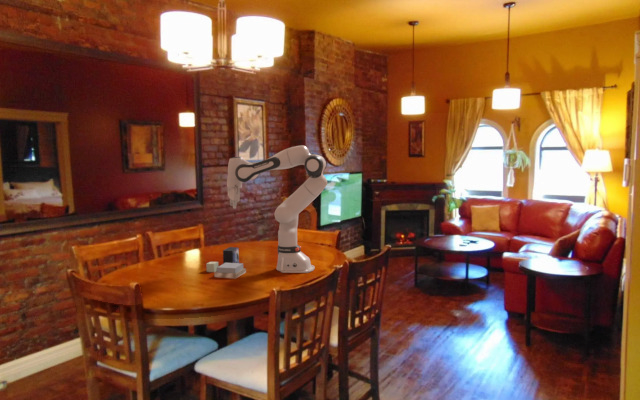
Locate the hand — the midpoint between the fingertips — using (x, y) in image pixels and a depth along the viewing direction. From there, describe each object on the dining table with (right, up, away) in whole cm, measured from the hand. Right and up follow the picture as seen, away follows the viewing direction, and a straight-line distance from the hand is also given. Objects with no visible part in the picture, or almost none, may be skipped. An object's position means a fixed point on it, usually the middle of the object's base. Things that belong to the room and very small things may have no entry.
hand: (233, 207), depth 271 cm
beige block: (-11, -37, -3) cm, 39 cm away
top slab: (+1, -36, -12) cm, 38 cm away
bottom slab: (+1, -39, -12) cm, 40 cm away
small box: (-3, -36, +9) cm, 37 cm away
